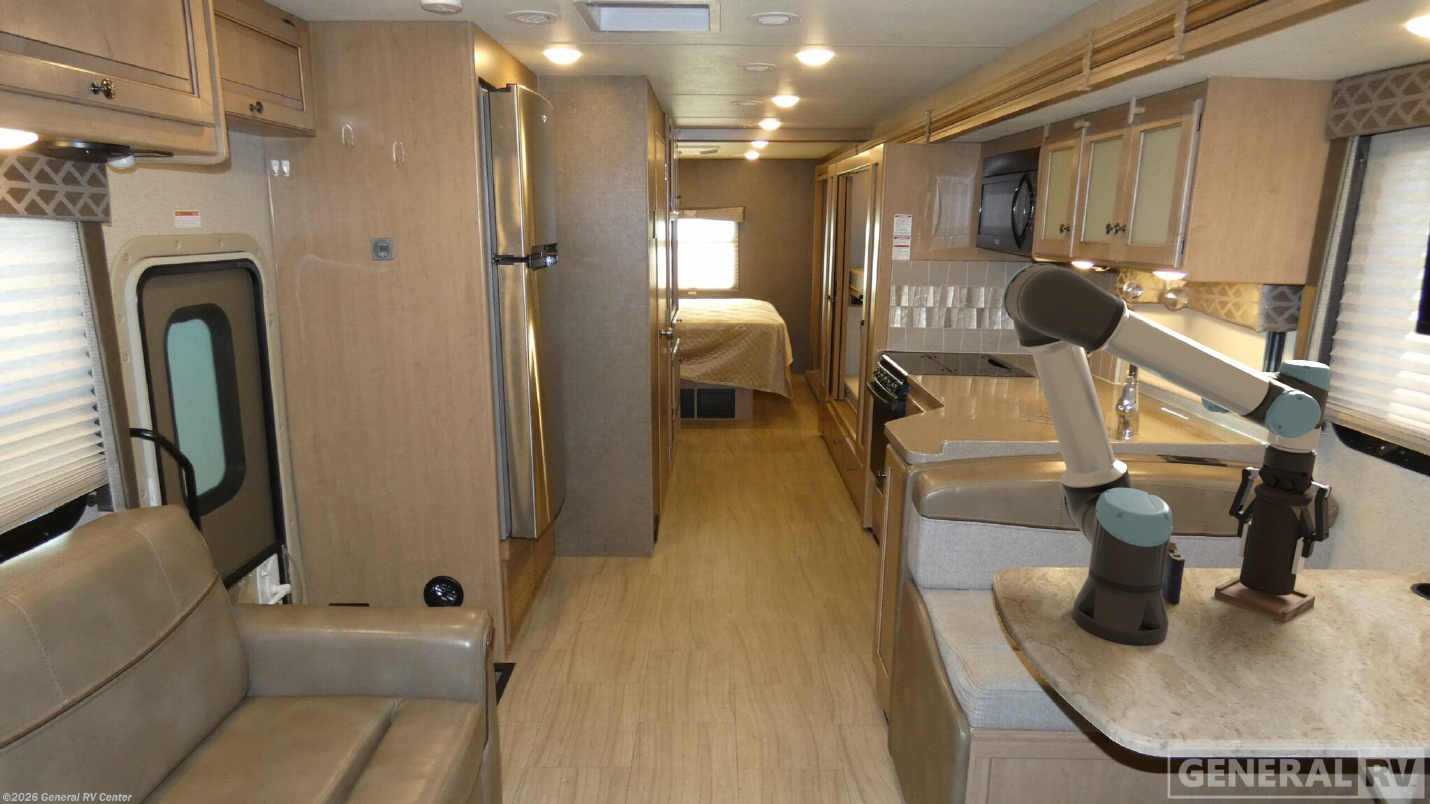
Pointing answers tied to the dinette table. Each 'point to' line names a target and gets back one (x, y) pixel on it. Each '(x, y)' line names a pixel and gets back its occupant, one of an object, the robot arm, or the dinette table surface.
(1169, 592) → the flask
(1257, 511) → the container
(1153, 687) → the dinette table surface
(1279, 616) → the square wooden tray
